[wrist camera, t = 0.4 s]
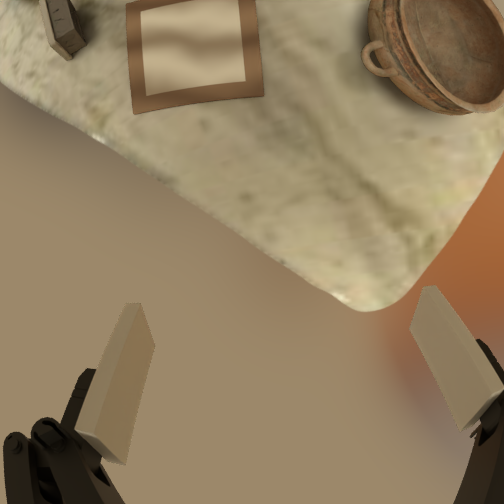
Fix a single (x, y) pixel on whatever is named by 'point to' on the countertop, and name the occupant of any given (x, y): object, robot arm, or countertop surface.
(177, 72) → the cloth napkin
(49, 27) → the electrical switch
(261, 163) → the countertop surface
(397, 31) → the cooking pot
